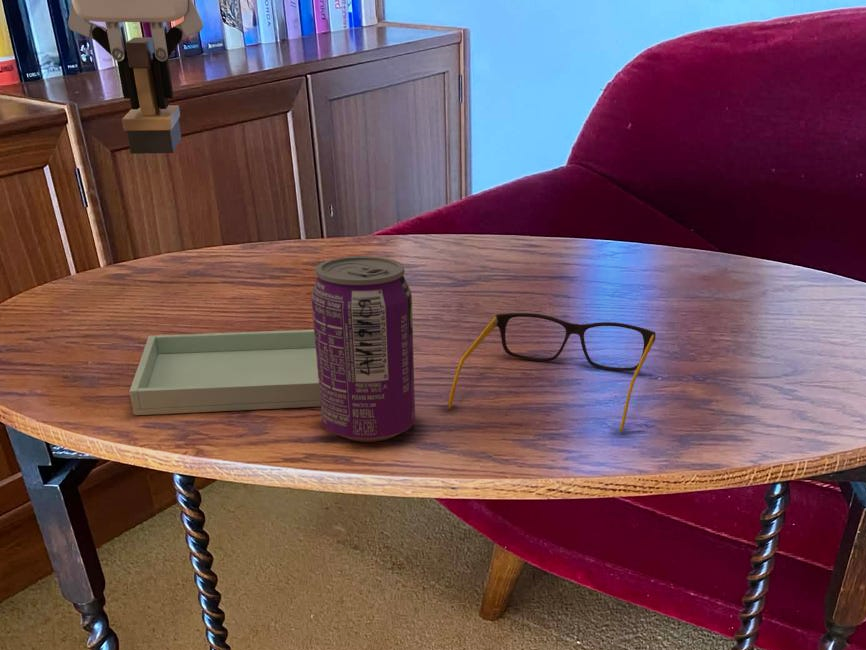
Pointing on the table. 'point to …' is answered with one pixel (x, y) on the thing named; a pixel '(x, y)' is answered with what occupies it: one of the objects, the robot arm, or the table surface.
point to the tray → (226, 372)
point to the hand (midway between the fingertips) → (150, 105)
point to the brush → (149, 106)
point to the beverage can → (364, 347)
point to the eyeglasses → (570, 329)
